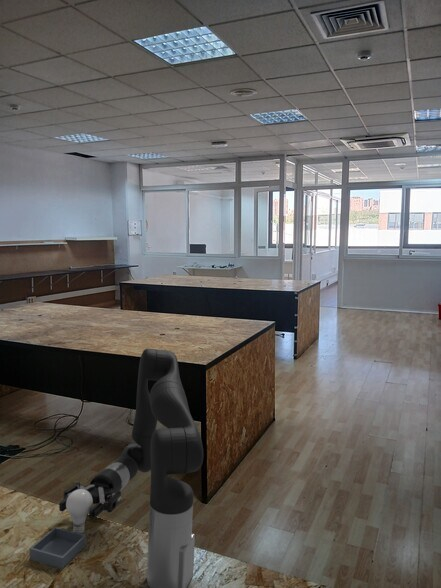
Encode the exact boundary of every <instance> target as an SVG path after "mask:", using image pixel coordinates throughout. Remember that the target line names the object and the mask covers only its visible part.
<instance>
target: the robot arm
mask: <svg viewBox="0 0 441 588" xmlns="http://www.w3.org/2000/svg"><path fill="white" fill-rule="evenodd" d="M139 359H140V360H139V366H138V373H137V385H136V405H135V415H134V420H133V426H132V429H131V439H132V441H134V442H131V443H129V444H127V445H126V446H125V447H124V449H123V451H122V453H121V454H120V456H119V457H118V459H116V460H115V461H114V462H113V463H111V464H109V465H107V467H105V468H104V469H103V470H101V471H99V473H97V474H96V475H95V476H93V478H92V479H91V481H90V483H89V484H86V485H84V486H83V485H81V482H78V481H76V483H74V484H72V485H71V486H69V487H68V488H66V489H64V491H63V494H62V496H63V497H62V498H63V499H62V500H61V501H59V504H58V505H59V506H58V509H59V512H61V513H63V512H64V511H65V510H67V509H66V501H67V498H68V496H69V495H70V494H71V493H72V492H73V491H75V490H78V489H85V490H87V491H88V492H90V494H91V495H92V498H93V505H94V506H92V508H91V510H90V511H89V513H88V514H89V515H88V516H89V517H88V518H89V519H91V520H93V519H95V518H96V517H98V516H99V515H100V514H101V513H105V511H107V513H112V512H113V511H114V510H115V509H116V508H117V507H118V506H119V504H121V502H122V490H124V488H125V487H126V486H127V484H128V483H129V482H130V481H131V480H133V479H134V478H135V476H136V475H138V474H137V473H138V472H141V473H148V472H150V490H149V491H150V493H149V494H150V495H149V516H148V519H149V521H148V541H147V542H148V544H147V546H148V547H147V569H146V573H147V574H146V582H147V586H148V587H149V588H187V587H188V585H189V583H190V582H191V580H192V578H193V576H194V565H195V563H194V562H195V541H196V540H195V539H196V538H195V537H196V535H195V533H193V532H192V531H193V518H194V517H193V513H194V490H193V488H192V487H191V485H189V484H188V483H187V482H185V481H183V480H179V479H176V478H173V477H171V476H170V475H179V474H190V473H195V472H197V471H198V470H200V469H201V468H202V465H203V462H204V447H203V441H202V437H201V434H200V432H199V429H198V427H197V424H196V423H195V420H194V418H193V417H192V415H191V412H190V408H189V404H188V399H187V396H186V393H185V389H184V387H183V384H182V381H181V380H182V379H181V377H180V370H179V362H178V358H177V355H176V354H175V353H174V352H173V351H171V350H165V349H155V348H145V349H144V350H143V351H142V353H141V354H140V358H139ZM149 381H156V382H155V383H154V384H153V385H152V388H151V389H150V391H149V385H148V383H149ZM158 423H160V424H161V425H162V426H164V427H163V428H157V424H158Z"/></svg>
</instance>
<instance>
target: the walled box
mask: <svg viewBox="0 0 441 588" xmlns="http://www.w3.org/2000/svg"><path fill="white" fill-rule="evenodd" d="M86 546H87V534H85V533H84V534H83V533H77V532H73V530H69V529H64V528H60V527H58V526H55V527H53V528H52V529H51V530H50V531H49V532H47V533H46V534H45V535H44V536H42V537H41V538H40V539H38V541H37V542H36V543H34V544H33V545H32V546H31V547H30V548H29V560H30V561H33V562H37V563H40V564H42V565H43V564H44V565H47V566H51V567H53V568H58V569H60V570H63V569H64V568H65V567H67V566H68V564H70V563H71V561H72V560H73V559H75V557H76V556H77V555H78V554H80V552H81V551H82V550H83V549H84V548H85V547H86Z"/></svg>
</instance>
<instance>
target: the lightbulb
mask: <svg viewBox="0 0 441 588" xmlns="http://www.w3.org/2000/svg"><path fill="white" fill-rule="evenodd" d="M93 505H94V504H93V498H92V495H91V494H90V492H88V491H87V490H85V489H78V490H75V491H73V492H72V493H71V494H70V495H69V496H68V498H67V501H66V509H65V510H66V511H67V513H68V514H69V516H70V518H71V521H72V524H73V527H72V528H73V529H72V531H73V532H77V533H81V534H83V533H84V532H85V526H86V525H85V523H86V520H87V516H88V514H89V512H90V510H91V509H92V508H93Z"/></svg>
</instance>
